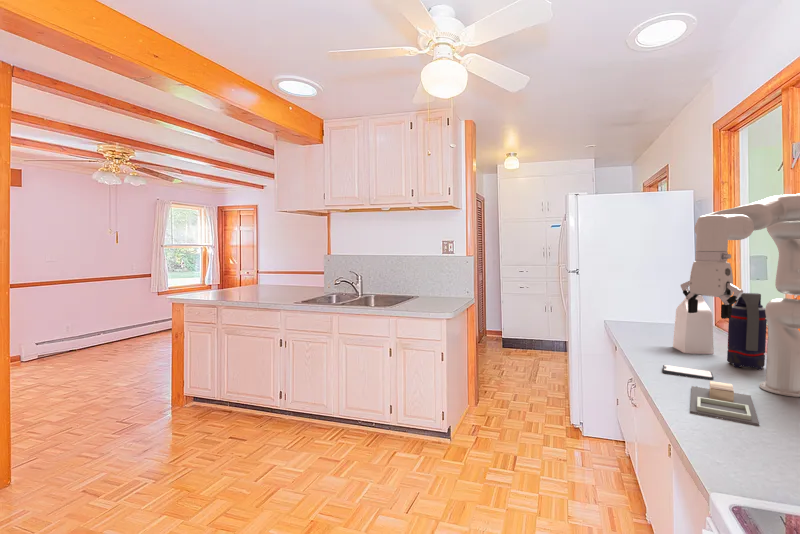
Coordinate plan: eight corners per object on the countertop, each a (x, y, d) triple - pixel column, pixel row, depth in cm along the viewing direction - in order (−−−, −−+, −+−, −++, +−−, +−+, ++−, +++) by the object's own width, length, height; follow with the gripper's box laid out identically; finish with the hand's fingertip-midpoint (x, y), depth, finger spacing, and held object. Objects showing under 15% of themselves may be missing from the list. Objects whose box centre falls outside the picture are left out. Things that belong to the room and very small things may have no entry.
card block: (709, 391, 145) (709, 380, 144) (731, 394, 141) (732, 383, 141) (709, 399, 137) (710, 388, 137) (733, 403, 134) (734, 391, 134)
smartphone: (711, 375, 165) (662, 368, 173) (711, 371, 165) (663, 364, 173) (713, 382, 158) (662, 374, 166) (713, 377, 157) (662, 370, 166)
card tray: (697, 410, 129) (697, 406, 129) (697, 400, 137) (697, 396, 137) (751, 420, 122) (751, 416, 122) (748, 409, 129) (748, 405, 129)
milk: (684, 353, 194) (686, 296, 193) (672, 346, 206) (674, 293, 204) (713, 354, 192) (716, 296, 191) (700, 347, 204) (702, 293, 202)
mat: (691, 387, 150) (691, 386, 150) (750, 397, 140) (750, 395, 140) (690, 412, 128) (690, 410, 128) (759, 425, 119) (759, 423, 119)
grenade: (723, 360, 182) (726, 290, 180) (759, 363, 177) (762, 291, 175) (732, 369, 170) (735, 294, 168) (770, 373, 165) (774, 295, 163)
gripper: (752, 258, 118) (749, 319, 120) (691, 256, 135) (689, 310, 136) (733, 259, 116) (730, 321, 117) (674, 256, 132) (672, 311, 133)
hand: (708, 315), depth 126 cm, fingers open, 9 cm apart
